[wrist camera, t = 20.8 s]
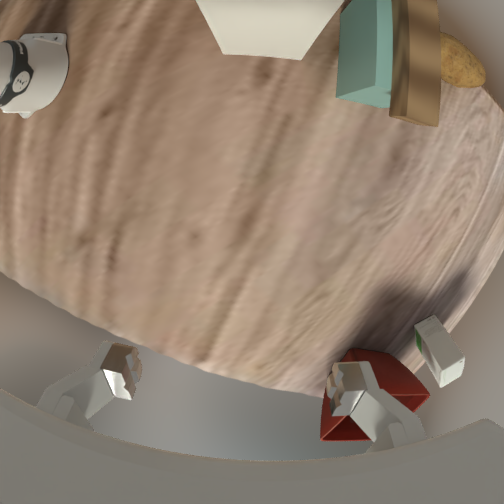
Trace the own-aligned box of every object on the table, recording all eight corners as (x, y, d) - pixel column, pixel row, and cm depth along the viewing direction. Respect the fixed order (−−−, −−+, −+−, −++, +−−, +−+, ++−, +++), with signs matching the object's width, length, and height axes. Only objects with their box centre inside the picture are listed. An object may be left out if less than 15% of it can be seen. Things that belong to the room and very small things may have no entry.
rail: (418, 125, 25) (438, 126, 21) (388, 116, 25) (406, 116, 21) (415, -24, 15) (430, -35, 12) (387, -36, 15) (400, -48, 12)
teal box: (335, 97, 38) (375, 85, 23) (340, 14, 31) (374, -26, 17) (380, 108, 38) (434, 105, 23) (384, 26, 31) (431, -2, 17)
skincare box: (413, 324, 57) (441, 370, 43) (436, 312, 55) (466, 355, 41) (415, 345, 60) (439, 389, 46) (436, 334, 59) (462, 376, 44)
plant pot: (407, 345, 60) (432, 394, 44) (368, 392, 68) (383, 439, 52) (346, 334, 57) (366, 393, 42) (309, 386, 65) (318, 441, 50)
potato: (465, 101, 35) (491, 102, 28) (408, 69, 34) (433, 62, 27) (469, 61, 31) (494, 57, 24) (413, 26, 30) (436, 16, 23)
